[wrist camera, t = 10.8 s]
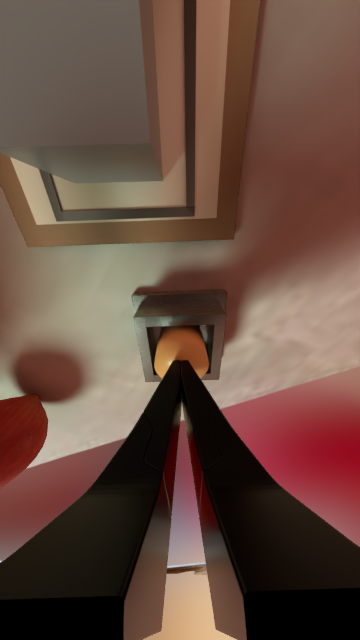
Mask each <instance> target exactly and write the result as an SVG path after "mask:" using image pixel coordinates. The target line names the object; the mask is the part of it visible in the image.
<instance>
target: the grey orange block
mask: <svg viewBox="0 0 360 640" xmlns="http://www.w3.org/2000/svg"><path fill="white" fill-rule="evenodd" d="M0 153H1V154H4V155H6V156H9V157H11V158H14V159H16V160H18V161H21V162H23V163H26V164H28V165H31V166H33V167H36V168H38V169H41V170H43V171H45V172H48V173H50V174H53V175H55V176H58V177H60V178H63V179H65V180H67V181H70V182H72V183H75V184H76V183H112V182H147V181H163V174H162V157H161V140H160V123H159V106H158V89H157V72H156V55H155V38H154V21H153V4H152V0H0Z"/></svg>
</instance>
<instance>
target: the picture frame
mask: <svg viewBox="0 0 360 640" xmlns="http://www.w3.org/2000/svg"><path fill="white" fill-rule="evenodd" d="M152 4H153V21H154V38H155V55H156V72H157V89H158V106H159V123H160V140H161V157H162V174H163V181H147V182H112V183H76V184H75V183H72V182H70V181H67V180H65V179H63V178H60V177H58V176H55V175H53V174H50V173H48V172H45V171H43V170H41V169H38V168H36V167H33V166H31V165H28V164H26V163H23V162H21V161H18V160H16V159H14V158H11V157H9V156H6V155H4V154H1V153H0V185H1V187H2V189H3V192H4V194H5V196H6V198H7V201H8V203H9V205H10V208H11V210H12V212H13V214H14V217H15V219H16V221H17V223H18V226H19V228H20V230H21V233H22V235H23V237H24V239H25V242H26V244H27V246H28V247H41V246H68V245H95V244H122V243H148V242H175V241H202V240H229V239H234V231H235V222H236V213H237V204H238V195H239V186H240V177H241V169H242V160H243V151H244V142H245V133H246V124H247V115H248V106H249V97H250V88H251V79H252V70H253V61H254V52H255V43H256V34H257V25H258V17H259V8H260V0H152Z"/></svg>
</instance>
